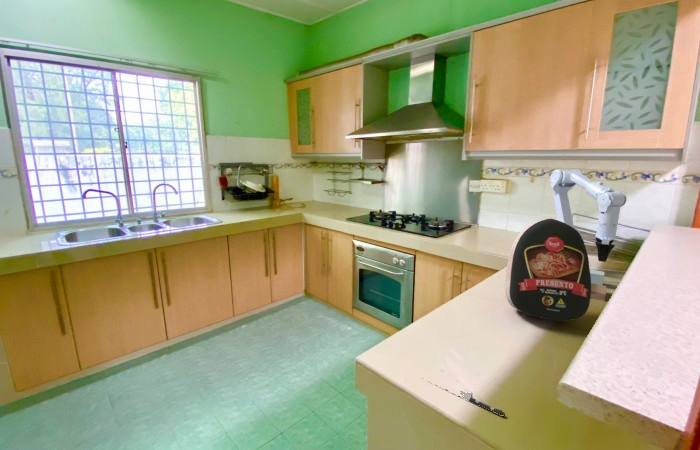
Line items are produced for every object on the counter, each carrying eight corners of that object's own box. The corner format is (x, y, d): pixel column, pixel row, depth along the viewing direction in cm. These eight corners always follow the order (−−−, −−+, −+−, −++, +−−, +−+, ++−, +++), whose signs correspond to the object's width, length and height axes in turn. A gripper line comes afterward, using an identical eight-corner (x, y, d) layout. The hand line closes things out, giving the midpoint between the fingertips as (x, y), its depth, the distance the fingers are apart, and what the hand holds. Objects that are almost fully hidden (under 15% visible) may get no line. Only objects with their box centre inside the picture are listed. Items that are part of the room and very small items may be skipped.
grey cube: (585, 284, 123) (587, 272, 122) (586, 280, 127) (588, 269, 126) (602, 287, 120) (604, 275, 119) (602, 284, 124) (604, 271, 123)
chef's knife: (420, 371, 74) (414, 377, 72) (421, 366, 74) (415, 372, 72) (508, 411, 62) (504, 420, 60) (509, 406, 62) (505, 414, 60)
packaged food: (509, 323, 94) (520, 225, 88) (497, 296, 113) (506, 213, 106) (595, 334, 88) (613, 229, 82) (568, 303, 107) (581, 216, 101)
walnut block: (572, 295, 114) (573, 287, 114) (575, 287, 121) (576, 280, 120) (604, 302, 109) (605, 294, 108) (605, 293, 115) (606, 286, 115)
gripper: (622, 228, 110) (616, 265, 113) (620, 222, 121) (614, 256, 124) (597, 226, 114) (591, 262, 117) (597, 220, 125) (592, 252, 128)
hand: (601, 258), depth 121 cm, fingers open, 7 cm apart
